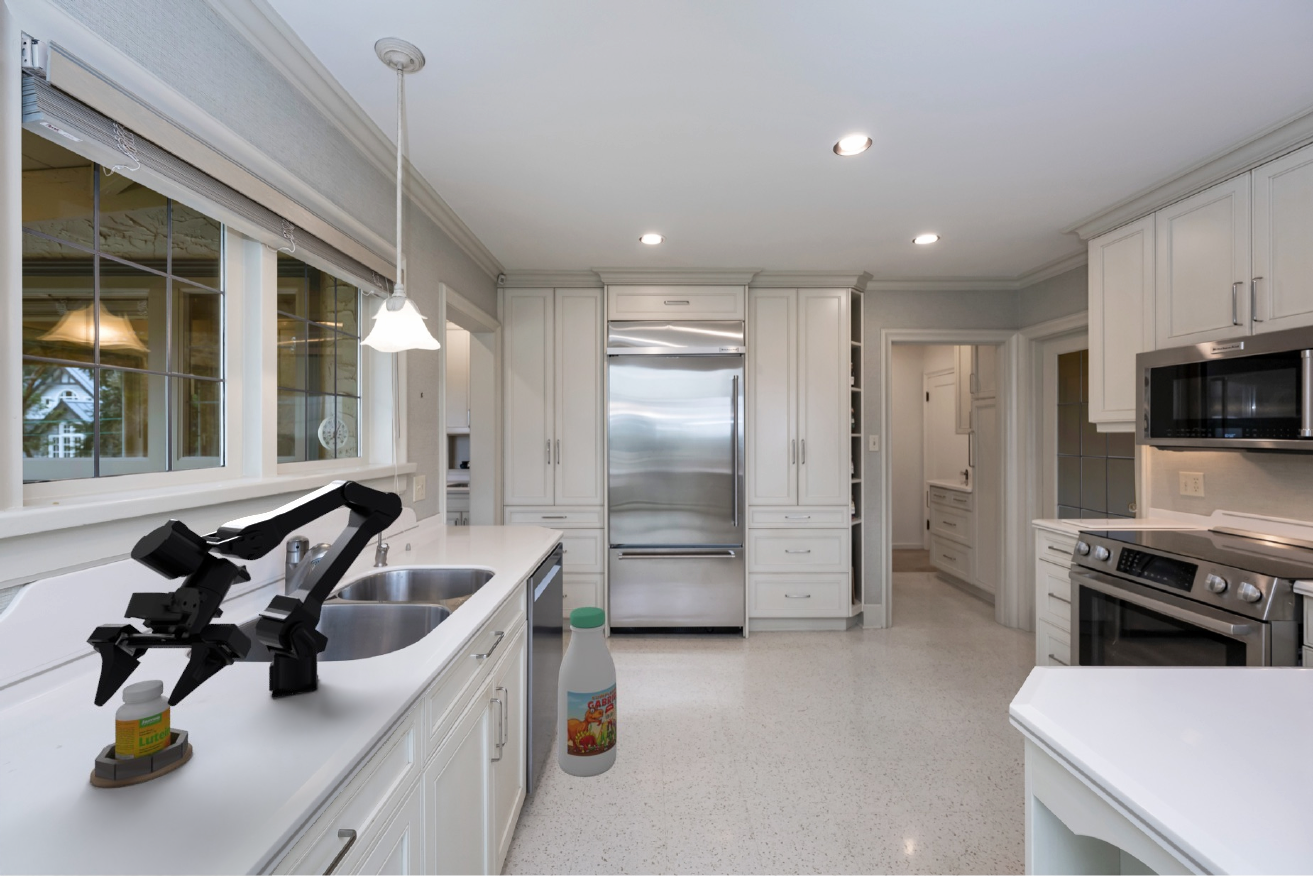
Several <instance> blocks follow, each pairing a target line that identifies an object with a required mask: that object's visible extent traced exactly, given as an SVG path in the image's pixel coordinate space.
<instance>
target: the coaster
mask: <svg viewBox="0 0 1313 876" xmlns="http://www.w3.org/2000/svg"><path fill="white" fill-rule="evenodd" d="M193 748H194V747H193V745H192V744H191V742H189V731H188V730H184V729H178V728H174V727H170V746H169V747H167V748H164V749H162V750H160V751H158V752H156V753H154V754H152V755H148V756H143V757H138V758H133V759H128V760H123V761H118V760H115V742H113V743H111V744H108V745H106V746H105V747H103V748H102V749H101V751H100V753H99V754H98V755H97V757H96V758H94V768H93V769H92V771H91V772H90V774H89V783H90V784H91V785H93V786H94V787H97V788H103V789H112V788H114V789H115V788H123V787H124V788H125V787H128V786H134V785H137V784H142V783H145V782H147V781H151V780H154V779H157V778H159V777H162V776H165V775H167V774H169V773H171V772H172V771H175V770H177V769H178V768H180V767H182V766H183V765H184V764H186V763H187V761H189V760H190V759H191V758H192V756H193V753H194V752H193V751H194V750H193Z"/></svg>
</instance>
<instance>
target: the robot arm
mask: <svg viewBox="0 0 1313 876" xmlns="http://www.w3.org/2000/svg"><path fill="white" fill-rule="evenodd" d="M402 502H403V501H402V499H401V497H400V496H399V495H398V494H397V493H396V492H392V491H381V490H378V489H374V488H371V487H368V486H365V485H362V484H360V483H358V482H356V481H354V480H346V479H345V480H344V479H336V480H333V481H331V482H330V483H328V485H327V484H326V485H325V486H323V487H320V488H319V489H317V490H316V489H315V491H312V492H309V493H308V494H306V495H304V496H301V497H300V498H298V499H295V500H294V501H293V500H292V501H291V502H288V503H287V504H285V505H282V506H280V507H279V508H276V509H274V510H272V511H268V512H265V513H260V514H254V515H249V516H245V517H241V518H238V519H235V520H231V521H227V522H225V523H224V524H222V525H220V526H219V527H218V528H217V530H216V531H214V532H209V533H207V534H203V535H199V534H197V533H196V532H194V531H193V530H191V529H190V528H189V527H188V526H187V525H186V524H185V523H184V522H182V521H180V520H178V519H169V520H168V521H166V523H165V524H164V525H162V526H160V527H157V528H155V529H154V530H152V531H151V532H149V533H148V534H147V535H144V536H142V537H141V538H140V539H139V540H138V541H137V542H136V544H135V545H134V546H133V547H132V550H131V551H130V558H131V559H132V560H134V561H136V562H137V563H139V564H140V565H142V566H144V567H146V568H148V569H149V570H151V571H152V572H154V573H156V574H158V575H160V576H162V577H163V578H165V579H166V580H170V581H171V580H175V579H179V578H185V579H184V580H183V582H182V583H181V585H180V586H179V587H178V588H177V589H175V591H168V592H155V591H154V592H149V591H148V592H146V591H144V592H138V591H137V592H132V593H131V596H130V600H129V602H128V604H127V608H126V610H125V613H124V616H123V618H125V619H131V618H134V619H139V620H144V621H143V622H142V625H143V626H144V627H145V628H147V629H151V633H150V632H149V633H143V632H141V631H140V629H137V628H136V627H135V626H134V625H133V624H131V623H103V624H101V625H97V626H96V627H95V629H94V630H93V631H92V633H91V634H90V636H89V637H88V638H87V640H86V643H87V644H89V645H91V646H92V647H93V648H92V649H93V650H94V651H95V652H97V653H99V654H100V657H101V670H100V675H99V679H98V683H97V684H98V685H97V687H96V691H95V692H96V693H95V697H94V701H93V703H94V704H93V705H95V706H97V707H99V708H100V707H103V706H105V704H106V703H108V701H109V700H111V698H112V697H113V696H114V695H115V694H116V693H117V691H118V690H119V689H120V688H121V687H122V686H123V684H124V683H126V681H127V680H128V679H129V677H130V676H131V675H132V674H133V673H134V672H135V671H136V669H137V668H138V667H139V666H140V664H141V663H142V662H141V661H140V660H138V659H140V658H141V657H144V656H145V655H146V653H147V652H148V650H149V649H191V650H190V658H189V661H188V663H187V664H186V666H185V667H184V669H183V671H182V674H180V677H179V678H178V679H177V682H176V684H175V686H174V688H173V690H172V691H171V693H170V695H169V697H168V698H169V700H168V705H170V707H176V706H177V705H178V704H179V703H180V702H182V701H183V700H184V699H186V697H188V696H189V695H190V694H191V693H193V692H194V691H195V690H196V689H197V688H198V687H200V686H201V685H203V684H204V683H205V682H206V681H207V680H209V679H211V678H212V677H213V676H215V675H216V674H217V673H218V672H220V671H221V670H222V669H224V668H225V667H227V666H233V665H234V664H235V661H236V660H237V661H241V660H245V659H247V656H248V654H249V652H250V650H251V648H252V640H251V638H250V637H249V636H248V635H247V634H246V633H245V632H244V631H243V630H242V629H241V628H240V627H239V626H238V625H237V624H236V623H211V622H212V621H213V619H220V618H222V615H223V613H224V611H223V610H222V608H220V607H221V605H222V603H223V601H224V600H225V598H226V596H227V594H228V593H229V591H230V589H231V588H232V586H235V585H239V584H245V583H249V582H251V580H252V577H251V574H250V573H249V571H248V570H247V565H245V564H241V565H237V564H236V563H234V562H232V561H231V560H230V559H237V560H242V561H243V560H244V561H256V560H258V559H261V558H263V557H265V556H267V554H269V553H270V552H272V551H273V550H274V549H276V548H277V547H279V546H281V544H282V542H283V541H284V540H285V538H286V537H287V536H288V535H290V534H291V533H293V532H294V531H296V530H298V529H300V528H301V527H304V526H306V525H307V524H309V523H311V522H314V521H315V520H317V519H319V518H322V517H323V516H325V515H327V514H329V513H330V512H333V511H335V510H336V509H338V508H340V507H345V508H347V509H349V510H350V511H349V514H348V515H349V516H348V523H347V525H346V527H344V530H342V532H340V535H339V536H338V537H336V539H335V540H334V542H332V544H331V546H330V547H329V549H327V551H326V552H325V553H324V555H323V556H322V557H321V558H320V560H319V561H318V562H317V564H316V565H315V566H314V567H313V568H312V570H311V571H310V572H309V573H308V575H307V576H306V577H305V579H303V581H302V582H301V583H300V585H299V586H298V588H297V589H296V590H294V591H293V592H292V593H290V594H287V595H283V594H278V593H277V594H276V595H275V596H274V597H273V598H272V599H271V600H270V602H269V604H268V605H267V607H266V608H265V609H264V610H263V611H261V612H260V613H259V614H258V616H259V617H260V618H259V619H258V620H257V622H256V624H255V627H254V628H255V637H256V638H257V639H256V640H257V641H259V642H260V644H263V646H264V648H265V650H266V652H267V653H274V655H273V660H272V661H271V662H270V663H269V668H268V669H269V670H268V685H269V686H268V691H269V692H271V699H272V698H273V699H275V698H280V697H287V696H292V695H297V694H303V693H309V692H313V691H317V690H318V686H319V674H318V654H320V653H323V652H325V650H326V648H327V646H328V645H327V644H328V641H329V637H328V636H326V635H325V634H323V633H321V632H320V631H319V630H317V629H316V628H317V627H318V625H319V623H320V620H321V615H322V608H323V604H324V602H325V601H326V600H327V598H328V597H329V596H330V594H332V591H333V590H334V589H335V587H336V586H337V585H338V584H339V583H340V581H341V579H342V578H343V577H344V576H345V574H346V573H347V572H348V571H349V569H350V567H351V566H352V565H353V564H354V562H355V561H356V560H357V558H358V557H359V556H360V554H361V553H362V551H364V549H365V547H366V546H367V545H368V543H369V542H370V541H371V540H372V539H373V537H375V536H376V535H378V534H380V533H383V532H384V531H386V530H387V529H388V528H389V527H390V526H392V525H393V523H394V522H396V520H398V518H399V517H400V516H401V514H402V512H403V503H402ZM212 553H214V554H219V555H221V556H222V557H217V556H215V555H213V554H212ZM228 558H230V559H228Z"/></svg>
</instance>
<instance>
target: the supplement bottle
mask: <svg viewBox="0 0 1313 876" xmlns="http://www.w3.org/2000/svg"><path fill="white" fill-rule="evenodd" d="M162 694H164V682H163V680H160V679H149V680H144V681H143V680H142V681H138V682H136V683H133V684H129V685H127V686H126V687H124V688H123V689H122V695H121V696H122V702H123V704H122V705H120V706H119V707H118V708H117V709H116V711H115V715H114V717H115V719H114V721H115V722H114V725H115V726H114V727H115V728H114V730H115V742H114V743H115V760H118V761H123V760H128V759H133V758H138V757H143V756H148V755H152V754H154V753H156V752H158V751H160V750H162V749H164V748H167V747H169V746H170V728H171V706H170V705H168V700H169V698H170V697H167V696H166V695H162Z"/></svg>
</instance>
